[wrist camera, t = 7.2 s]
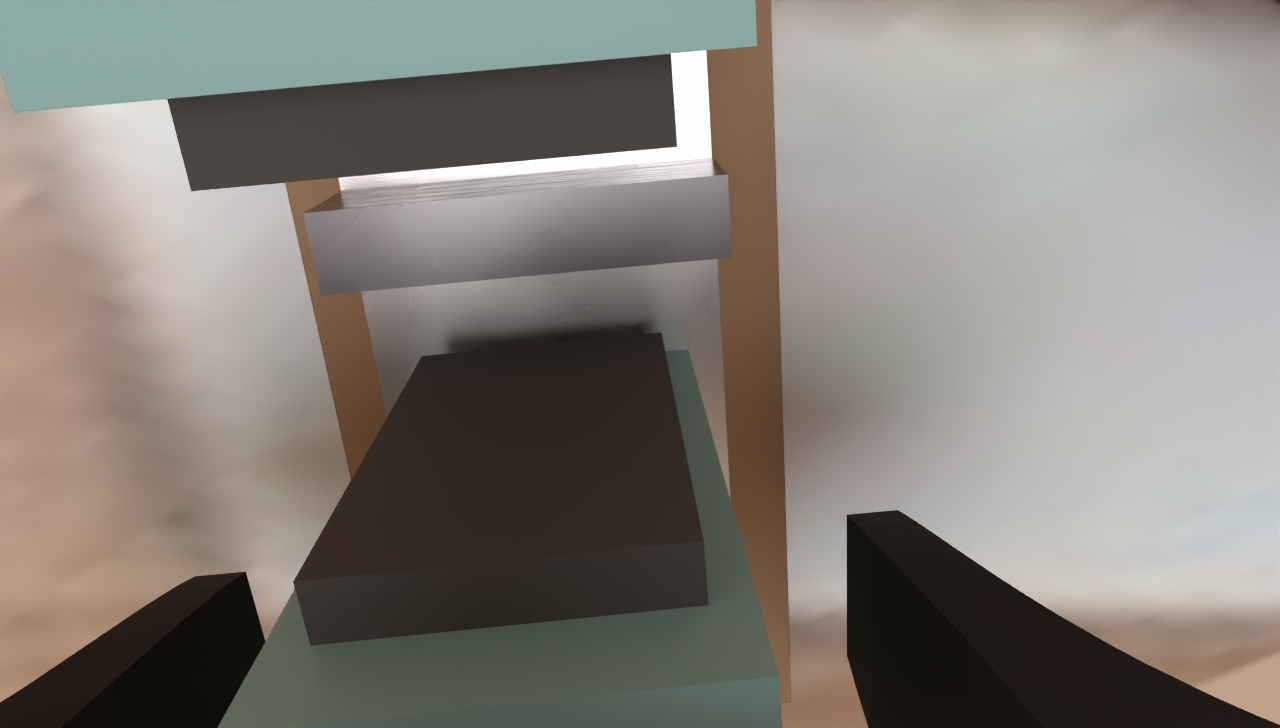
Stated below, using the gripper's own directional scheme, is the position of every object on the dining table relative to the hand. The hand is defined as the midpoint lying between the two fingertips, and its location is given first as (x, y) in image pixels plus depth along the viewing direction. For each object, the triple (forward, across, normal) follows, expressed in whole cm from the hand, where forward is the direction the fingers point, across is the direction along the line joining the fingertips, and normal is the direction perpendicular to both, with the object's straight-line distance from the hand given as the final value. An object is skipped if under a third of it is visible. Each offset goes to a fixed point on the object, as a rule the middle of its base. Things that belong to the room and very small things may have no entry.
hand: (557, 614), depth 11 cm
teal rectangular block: (+3, 0, 0) cm, 3 cm away
